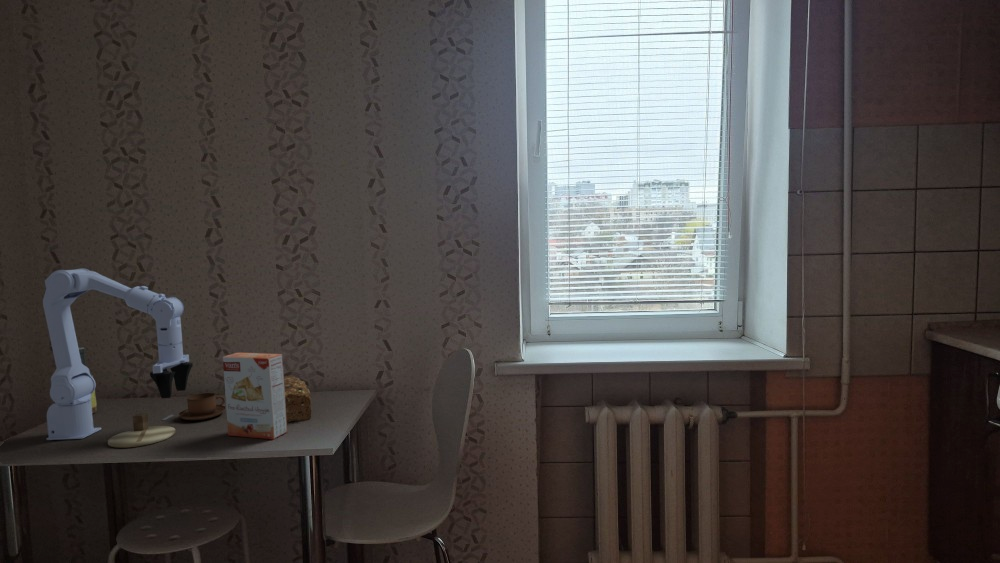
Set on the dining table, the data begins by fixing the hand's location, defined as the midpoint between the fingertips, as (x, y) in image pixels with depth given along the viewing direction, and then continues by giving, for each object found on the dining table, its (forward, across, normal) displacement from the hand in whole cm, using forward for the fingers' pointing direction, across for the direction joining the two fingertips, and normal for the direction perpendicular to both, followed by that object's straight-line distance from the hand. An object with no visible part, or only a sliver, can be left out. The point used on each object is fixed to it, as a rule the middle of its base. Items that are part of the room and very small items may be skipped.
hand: (173, 394), depth 161 cm
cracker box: (+10, -7, -24) cm, 27 cm away
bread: (+10, +11, -26) cm, 30 cm away
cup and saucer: (+10, +12, -1) cm, 16 cm away
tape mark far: (+10, +23, -1) cm, 25 cm away
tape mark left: (+10, +12, +9) cm, 18 cm away
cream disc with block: (+10, -6, +6) cm, 13 cm away
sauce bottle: (+10, +20, +38) cm, 44 cm away
